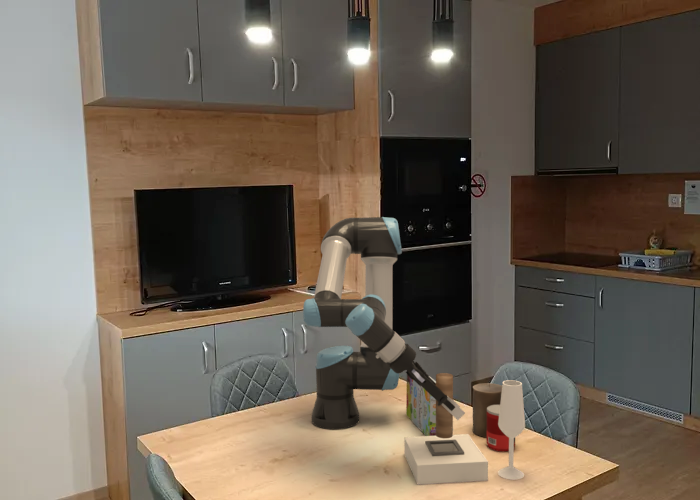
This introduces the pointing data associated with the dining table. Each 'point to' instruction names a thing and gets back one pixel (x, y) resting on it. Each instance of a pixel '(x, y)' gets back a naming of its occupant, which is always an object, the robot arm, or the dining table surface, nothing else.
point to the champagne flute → (511, 422)
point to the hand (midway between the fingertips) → (458, 412)
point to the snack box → (421, 407)
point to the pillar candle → (484, 405)
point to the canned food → (496, 431)
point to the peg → (442, 415)
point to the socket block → (445, 459)
